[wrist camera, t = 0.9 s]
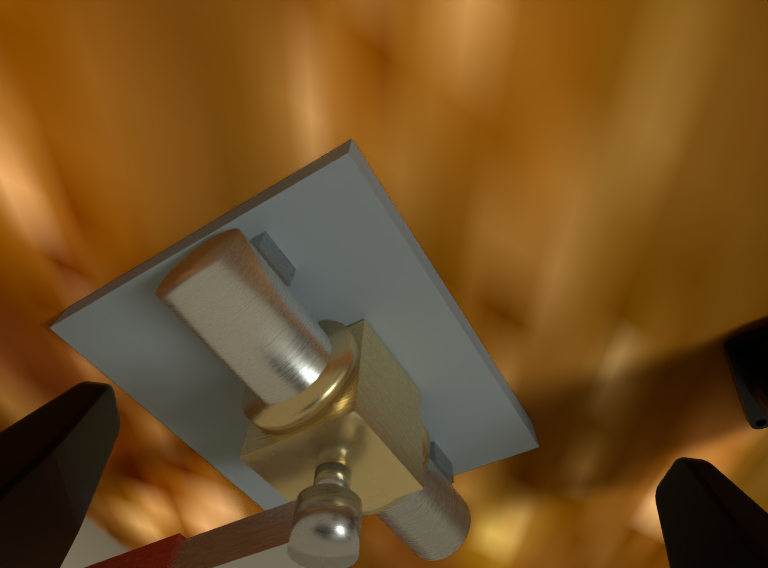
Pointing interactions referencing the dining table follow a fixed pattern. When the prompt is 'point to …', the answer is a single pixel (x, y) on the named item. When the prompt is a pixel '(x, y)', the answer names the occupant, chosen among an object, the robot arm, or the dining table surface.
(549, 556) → the dining table surface
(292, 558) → the valve lever
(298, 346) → the valve body
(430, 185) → the dining table surface
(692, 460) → the robot arm
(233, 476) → the valve board
